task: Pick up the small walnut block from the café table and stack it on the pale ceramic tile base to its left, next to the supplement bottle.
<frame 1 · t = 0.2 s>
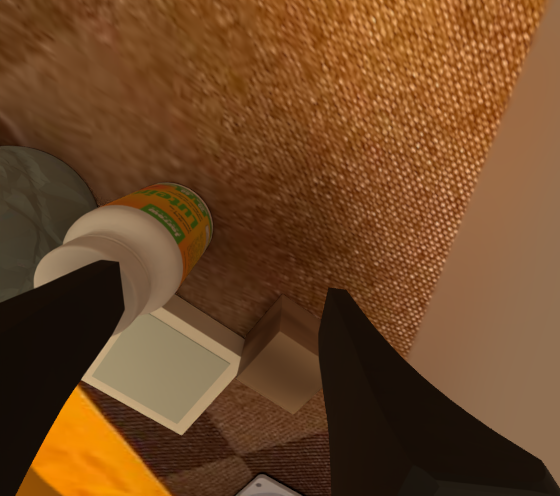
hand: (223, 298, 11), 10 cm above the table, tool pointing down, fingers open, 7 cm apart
tile base: (170, 351, 25), on the table
supplement bottle: (174, 221, 22), on the table
walnut block: (288, 331, 24), on the table
grey cylindrical piece: (36, 209, 22), on the table
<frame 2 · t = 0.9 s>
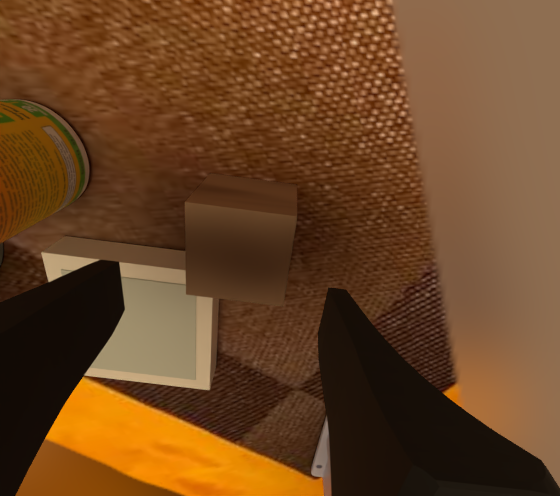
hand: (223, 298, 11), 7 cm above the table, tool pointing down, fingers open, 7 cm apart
tile base: (148, 307, 21), on the table
supplement bottle: (42, 154, 17), on the table
walnut block: (250, 218, 18), on the table
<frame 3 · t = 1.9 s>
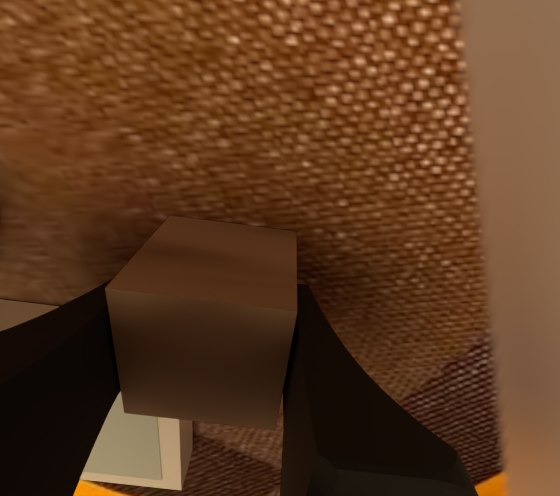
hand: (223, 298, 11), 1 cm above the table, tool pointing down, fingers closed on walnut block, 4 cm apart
tile base: (98, 383, 16), on the table
walnut block: (230, 276, 13), on the table, touching gripper
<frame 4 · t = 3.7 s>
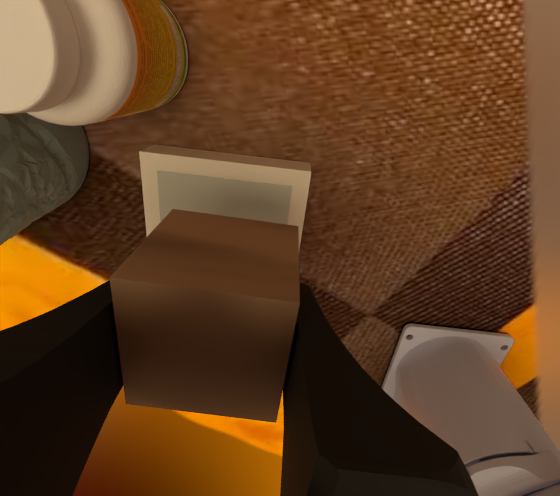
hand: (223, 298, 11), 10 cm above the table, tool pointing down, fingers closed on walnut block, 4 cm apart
tile base: (229, 224, 21), on the table
supplement bottle: (139, 52, 17), on the table
walnut block: (231, 270, 13), point 8 cm above the table, touching gripper
grey cylindrical piece: (13, 135, 19), on the table
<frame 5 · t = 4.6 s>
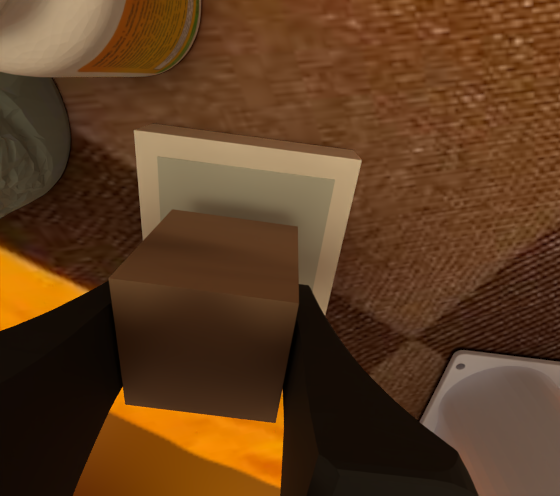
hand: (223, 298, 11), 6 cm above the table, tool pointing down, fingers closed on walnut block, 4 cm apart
tile base: (246, 228, 17), on the table
walnut block: (231, 271, 13), point 4 cm above the table, touching gripper
when the fingers open (4 cm above the table, at t = 5.4 s): walnut block stays where it is, resting on tile base.
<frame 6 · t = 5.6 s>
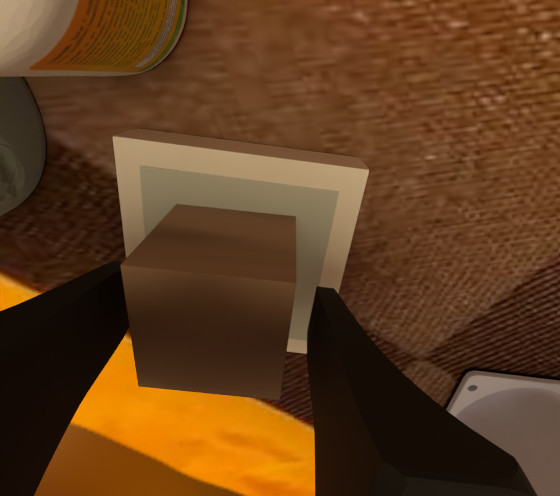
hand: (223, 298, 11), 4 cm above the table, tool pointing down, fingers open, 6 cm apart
tile base: (241, 241, 15), on the table
walnut block: (234, 261, 13), point 2 cm above the table, touching tile base
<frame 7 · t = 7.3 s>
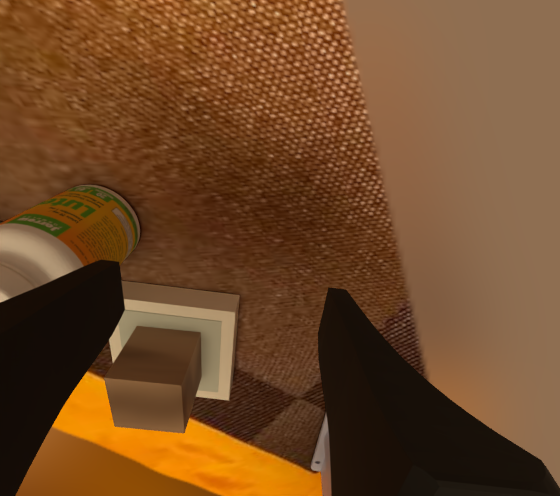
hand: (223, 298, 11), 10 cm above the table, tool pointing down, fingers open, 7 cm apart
tile base: (179, 334, 26), on the table
supplement bottle: (103, 221, 22), on the table
walnut block: (170, 352, 24), point 2 cm above the table, touching tile base
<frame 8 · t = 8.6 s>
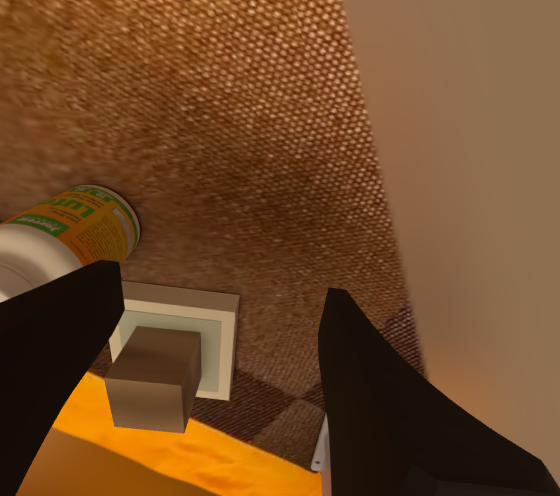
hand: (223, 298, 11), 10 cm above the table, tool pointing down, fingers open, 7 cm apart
tile base: (179, 334, 26), on the table
supplement bottle: (103, 221, 22), on the table
walnut block: (170, 352, 24), point 2 cm above the table, touching tile base
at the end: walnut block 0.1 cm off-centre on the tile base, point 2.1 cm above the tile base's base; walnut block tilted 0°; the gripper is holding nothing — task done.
